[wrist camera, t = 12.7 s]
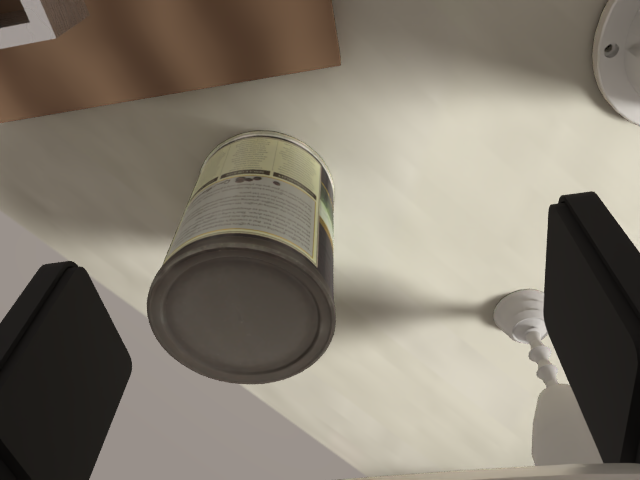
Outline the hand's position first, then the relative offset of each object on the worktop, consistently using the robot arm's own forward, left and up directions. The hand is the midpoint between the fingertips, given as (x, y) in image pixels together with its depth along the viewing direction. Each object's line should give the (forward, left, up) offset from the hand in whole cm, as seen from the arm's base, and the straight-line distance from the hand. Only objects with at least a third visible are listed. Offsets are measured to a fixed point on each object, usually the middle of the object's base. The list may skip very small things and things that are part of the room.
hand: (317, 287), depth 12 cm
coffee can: (+7, +13, -28) cm, 32 cm away
